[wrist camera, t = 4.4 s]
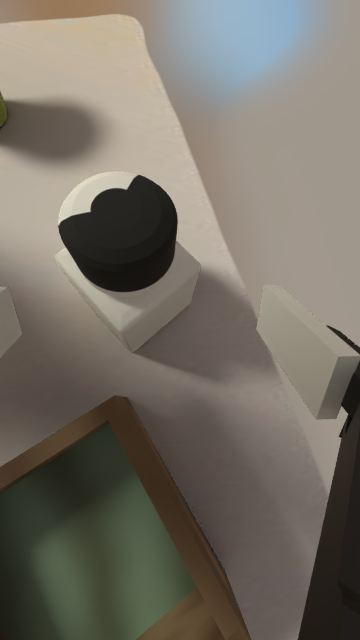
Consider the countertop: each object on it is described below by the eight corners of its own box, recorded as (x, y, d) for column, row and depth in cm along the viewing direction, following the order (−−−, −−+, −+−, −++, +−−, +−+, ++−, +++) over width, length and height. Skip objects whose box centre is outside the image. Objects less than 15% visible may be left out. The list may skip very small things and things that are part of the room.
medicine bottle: (192, 303, 25) (219, 216, 13) (132, 354, 23) (104, 306, 11) (141, 251, 26) (126, 131, 14) (81, 296, 24) (9, 200, 13)
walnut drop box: (34, 739, 16) (-39, 934, 10) (-49, 509, 19) (-142, 556, 13) (225, 572, 19) (254, 647, 13) (126, 397, 22) (114, 395, 16)
